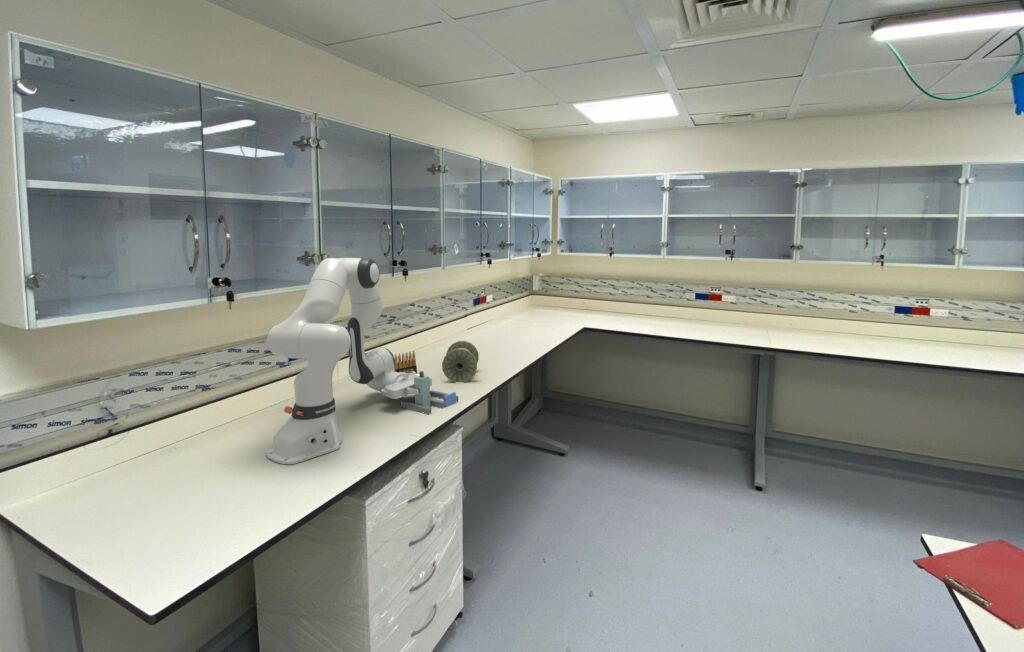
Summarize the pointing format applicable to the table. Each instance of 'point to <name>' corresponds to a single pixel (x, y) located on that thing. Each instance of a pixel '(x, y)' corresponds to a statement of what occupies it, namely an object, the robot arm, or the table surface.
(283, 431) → the robot arm
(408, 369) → the ammunition clip
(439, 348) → the table surface
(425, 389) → the capped teal pillar
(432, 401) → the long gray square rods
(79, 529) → the table surface
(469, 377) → the spool
